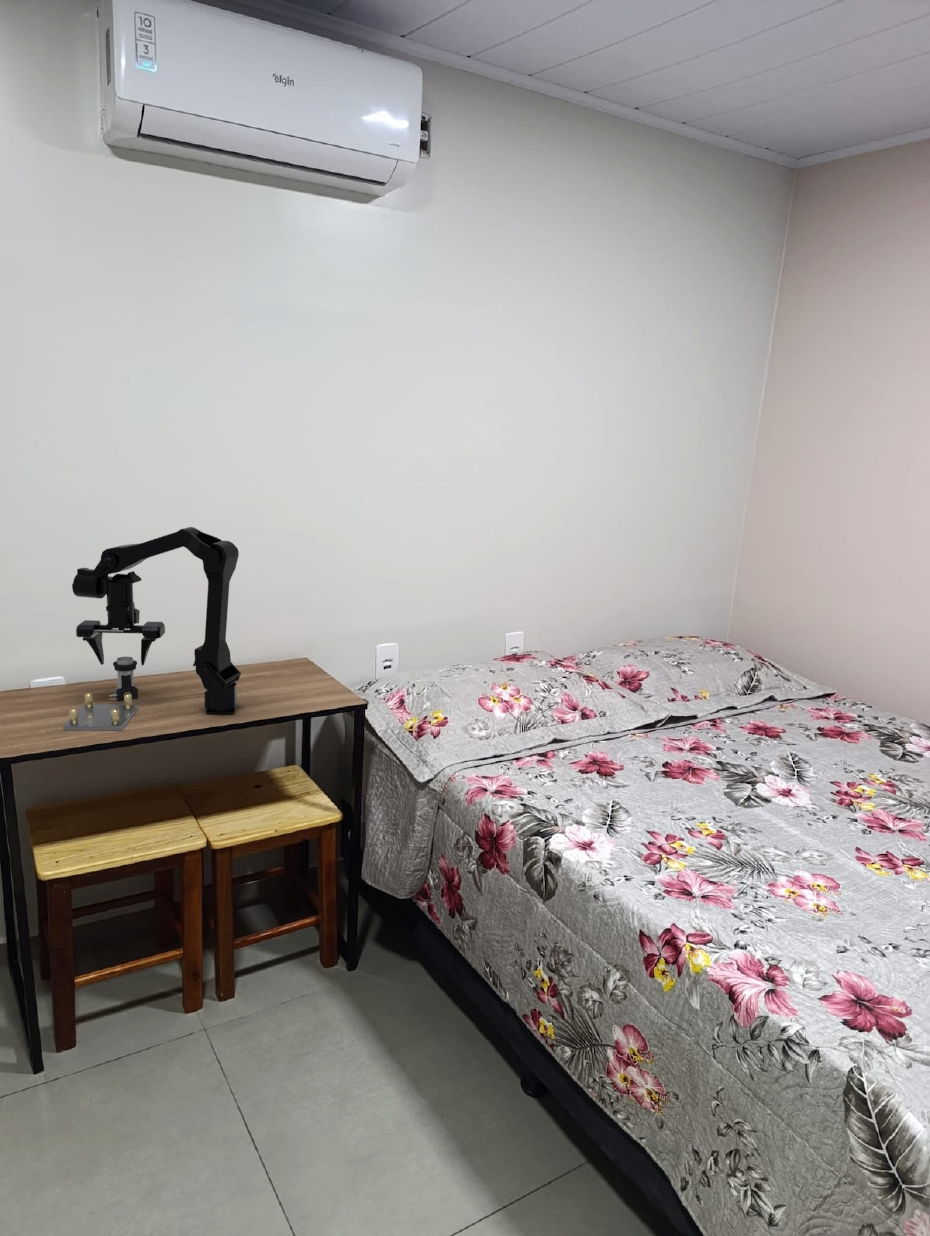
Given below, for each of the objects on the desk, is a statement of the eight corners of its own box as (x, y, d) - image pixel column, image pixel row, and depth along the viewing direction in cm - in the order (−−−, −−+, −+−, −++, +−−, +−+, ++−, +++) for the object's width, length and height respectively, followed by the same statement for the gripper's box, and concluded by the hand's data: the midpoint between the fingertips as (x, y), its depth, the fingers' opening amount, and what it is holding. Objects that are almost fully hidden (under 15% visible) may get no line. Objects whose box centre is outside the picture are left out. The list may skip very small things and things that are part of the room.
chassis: (137, 709, 198) (137, 692, 197) (121, 730, 184) (120, 712, 183) (83, 708, 196) (82, 691, 196) (63, 730, 183) (62, 712, 182)
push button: (113, 704, 200) (112, 663, 198) (105, 698, 204) (103, 658, 201) (141, 699, 204) (140, 659, 202) (133, 693, 208) (131, 654, 206)
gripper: (169, 594, 208) (170, 656, 211) (88, 592, 205) (91, 654, 209) (158, 603, 197) (160, 668, 200) (73, 601, 194) (77, 667, 198)
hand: (122, 664), depth 202 cm, fingers open, 9 cm apart
